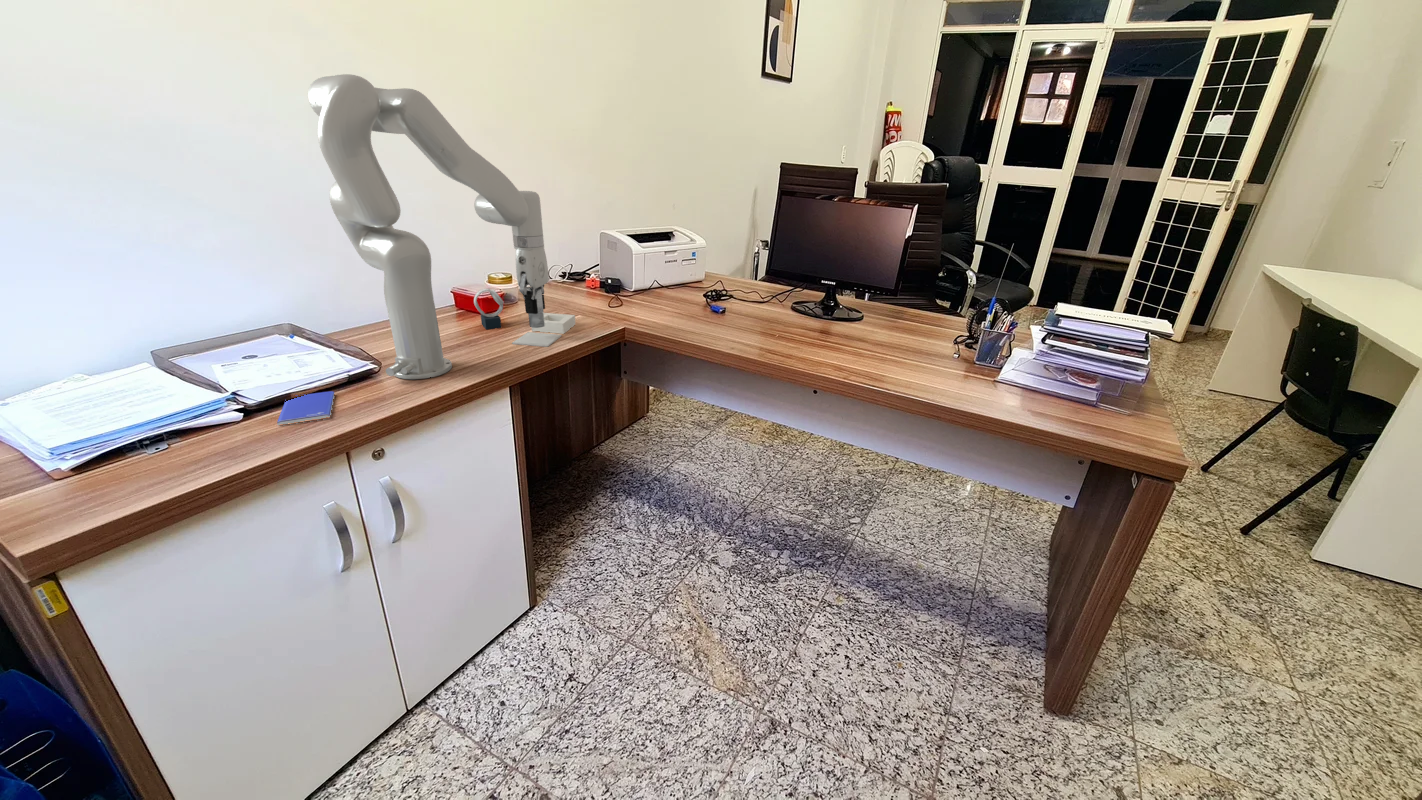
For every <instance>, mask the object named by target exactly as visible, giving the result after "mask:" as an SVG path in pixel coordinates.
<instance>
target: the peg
mask: <svg viewBox="0 0 1422 800" xmlns="http://www.w3.org/2000/svg"><path fill="white" fill-rule="evenodd" d="M527 290H528V289H527ZM528 291H530V292H531V290H528ZM542 295H543V294H542V291H541V289H540V288H536V289H535V299H537V308H538V313H537V314H529V313H527V315H528V323H529V324H528V325H529V328H531V329H532V328H540V327H544V326H545V322H544V313H545V312H544V309H543V301H542Z"/></svg>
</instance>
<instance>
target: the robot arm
mask: <svg viewBox="0 0 1422 800" xmlns="http://www.w3.org/2000/svg"><path fill="white" fill-rule="evenodd" d="M307 98H308V102H309V105H310V107H311V109H312V110H313V112H314V113H315V115H317V116H318V117H319V119H318V124H317V125H318V126H317V138H318V144H319V148H320V151H321V153H322V156H323V158H324V160H325V162H326V164H327V166H328V168H329V169H330V172H331V175H332V176H333V178H334V180H335V182H334V183H333V184H332V185H331V187H330V190H329V203H330V207H331V210H332V211H333V212H332V213H334V215H335V217H336V219H337V221H338V222H339V224H340V225H341V227H342V229H343V231H344V232H345V234H346V236H347V237H348V239H349V240H350V242H351V244H352V245H353V248H354V249H355V250H356V252H357V254H358V255H359V257H360V258H361V259H362V260H363V261H364V262H365V263H366V264H367V265H369V266H370V267H372V268H375V269H377V270H380V271H382V272H383V273H384V275H383V295H384V300H385V301H384V302H385V306H386V310H387V314H388V318H389V319H388V320H389V325H390V329H391V333H392V339H393V343H394V349H395V355H396V356H395V357H394V360H395V362H394V363H393V365H391V366H389V367H387V368H386V369H385V373H386V375H388V377H393V376H394V377H396V378H398V379H404V380H423V379H430V377H431V378H435V377H439V376H441V375H443V374H446V373H448V372H449V371H450V370H452V368H453V364H452V361H451V360H450V359H448V358H446V357H444V352H443V346H442V341H441V335H440V334H441V333H440V329H439V321H438V317H437V311H436V305H435V299H434V293H433V286H432V285H433V284H432V258H431V257H432V256H431V252H430V249H429V247H428V245H427V244H426V243H425V241H424V240H422V238H420V236H418V235H416V234H414V233H413V232H409V231H406V230H401V229H398V228H394V226H393V225H395V224H396V223H397V222H398V220H399V219H400V216H401V210H402V209H401V205H400V202H399V199H398V197H397V194H395V191H394V189H393V188H392V185H391V184H390V182H389V180H388V178H387V176H386V174H385V173H384V170H383V169H382V167H381V165H380V163H379V160H378V158H377V156H376V154H375V151H374V148H373V145H372V132H376V133H377V132H378V133H385V134H394V135H405V136H407V137H406V138H408V139H409V140H410V141H411V142H412V143H413V144H414V145H415V147H417V148H418V150H419V151H420V152H421V153H422V154H423V155H424V156H425V158H427V159H428V160H429V161H430V163H432V164H433V165H434V167H435V168H436V169H437V170H438V171H440V172H441V173H442V174H443V175H445V177H448V178H450V179H452V180H453V181H455V182H458V183H460V184H462V185H464V186H467V187H468V188H470V189H471V190H472V191H474V192H476V193H478V195H476V198H475V199H474V205H473V207H474V211H475V213H476V214H477V216H478V218H481V219H482V220H483V221H485V222H488V223H491V224H497V225H505V226H509V227H511V233H512V241H513V249H515V273H516V280H517V285H518V287H519V288H518V289H519V292H520V294H521V295H522V297H523V300H524V308H525V313H526V314H528V313H529V314H537V313H538V308H537V299H535V289H536V288H540V289H541V291H542V301H543V310H545V309H546V304H545V303H546V302H545V285H546V284H547V283H548V282H549V281H550V275H549V274H550V273H549V267H548V260H547V254H546V250H545V238H544V230H543V221H542V220H543V218H542V209H541V208H542V207H541V205H542V204H541V198H540V195H539V193H537V192H536V191H533V190H519V189H518V188H517V187H516V185H515V184H514V183H513V182H512V181H511V180H510V178H509V177H508V176H507V175H506V174H505V173H503V172H502V171H501V170H500V169H498V167H496V166H495V165H493V164H492V163H491V162H490V161H488V160H487V159H486V158H485V157H483V156H482V155H481V154H480V153H478V151H476V150H474V149H473V148H472V147H470V145H469V144H468V143H467V142H466V141H465V139H464V138H463V137H462V136H461V135H460V134H459V133H458V131H456V129H455V128H454V127H453V125H451V124H450V122H449V120H447V119H446V117H444V116H445V115H443V114H442V113H441V112H440V110H439V109H438V108H437V107H436V106H435V104H434V103H433V102H432V101H431V99H429V98H428V97H427V96H426V95H425V94H424V93H422V92H421V91H419V90H416V89H415V88H414V89H413V88H404V87H403V88H389V89H388V88H381V87H375V86H374V85H373V84H372V83H371V82H370V81H368V80H367V79H366V78H364V77H362V76H359V75H356V74H347V73H346V74H345V73H343V74H335V75H329V76H322V77H318V78H316V79H315V80H314V81H313V82H312V83H311V84H310V86H309V87H308V91H307ZM527 289H528V290H531V292H530V291H528V290H527Z"/></svg>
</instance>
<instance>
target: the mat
mask: <svg viewBox="0 0 1422 800" xmlns="http://www.w3.org/2000/svg"><path fill="white" fill-rule="evenodd" d="M561 337H562V334H560V333H547V332H535V331H528V332H526V333H524V334H523V335H522V336H519V337H518V338H517V339H515V340H513V341H512V343H511V344H512V345H518V346H519V345H520V346H533V347H545V348H548V347H550V346H551V345H552V344H553V343H554V342H556V341H557V340H559V339H560V338H561Z"/></svg>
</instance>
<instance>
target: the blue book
mask: <svg viewBox="0 0 1422 800" xmlns="http://www.w3.org/2000/svg"><path fill="white" fill-rule="evenodd" d="M334 394H335V391H332V390H331V391H322V392H315V393H314V392H313V393H307V395H306V394H303V395H304V396H301V397H297V398H294V399H291V400H288V401H286V400H285V401H286V402H285V401H284V404H283V406H282V408H281V411H280V414H279V416H278V419H277V421H276V424H277V426H278V425H280V424H288V423H294V422H300V421H305V420H312V419H321V418H326V417H330V415H331V416H332V413H331V410H332V411H333V408H332V405H333V406H334V402H333V399H334V400H335V396H334Z"/></svg>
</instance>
